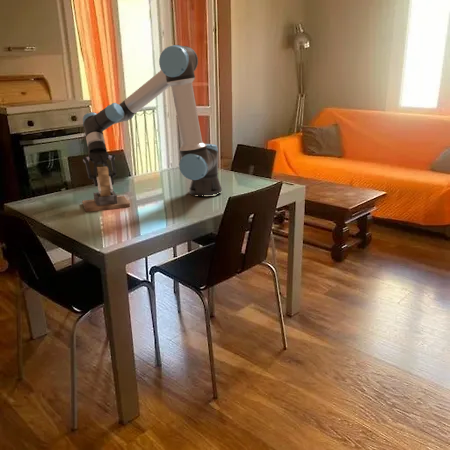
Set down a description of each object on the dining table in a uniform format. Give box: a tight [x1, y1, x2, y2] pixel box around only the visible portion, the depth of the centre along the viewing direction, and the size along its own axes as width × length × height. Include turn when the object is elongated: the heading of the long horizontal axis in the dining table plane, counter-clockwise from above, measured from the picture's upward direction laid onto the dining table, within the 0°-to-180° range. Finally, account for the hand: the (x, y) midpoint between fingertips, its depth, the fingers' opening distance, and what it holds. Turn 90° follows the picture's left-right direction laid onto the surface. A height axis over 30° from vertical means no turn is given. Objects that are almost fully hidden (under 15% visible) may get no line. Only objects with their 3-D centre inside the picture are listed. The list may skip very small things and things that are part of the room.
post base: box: [81, 190, 131, 213], centre depth 194 cm, size 18×12×5 cm, turn 113°
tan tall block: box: [97, 166, 111, 197], centre depth 192 cm, size 4×4×14 cm
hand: (105, 191), depth 189 cm, fingers open, 4 cm apart
